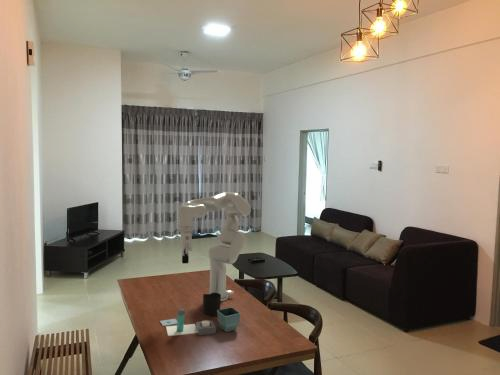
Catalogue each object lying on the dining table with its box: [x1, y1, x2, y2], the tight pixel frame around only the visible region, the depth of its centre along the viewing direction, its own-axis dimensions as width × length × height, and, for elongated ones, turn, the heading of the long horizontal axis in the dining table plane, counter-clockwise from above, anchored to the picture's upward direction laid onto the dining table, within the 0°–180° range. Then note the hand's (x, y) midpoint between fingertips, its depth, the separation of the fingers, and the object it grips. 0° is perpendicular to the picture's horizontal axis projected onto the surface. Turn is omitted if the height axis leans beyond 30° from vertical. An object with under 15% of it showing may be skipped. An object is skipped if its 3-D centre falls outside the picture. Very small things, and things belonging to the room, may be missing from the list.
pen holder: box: [202, 292, 222, 317], centre depth 218 cm, size 9×9×10 cm
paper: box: [165, 323, 198, 337], centre depth 197 cm, size 14×10×1 cm
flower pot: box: [216, 306, 242, 333], centre depth 199 cm, size 9×9×9 cm
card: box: [159, 318, 177, 327], centre depth 205 cm, size 8×6×1 cm
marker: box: [176, 308, 186, 332], centre depth 195 cm, size 3×3×10 cm
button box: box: [195, 320, 216, 336], centre depth 197 cm, size 8×8×3 cm
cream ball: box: [201, 319, 211, 327], centre depth 197 cm, size 4×4×4 cm
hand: (185, 262), depth 216 cm, fingers closed
